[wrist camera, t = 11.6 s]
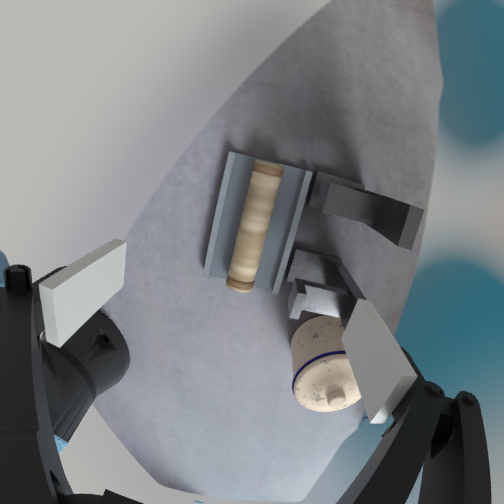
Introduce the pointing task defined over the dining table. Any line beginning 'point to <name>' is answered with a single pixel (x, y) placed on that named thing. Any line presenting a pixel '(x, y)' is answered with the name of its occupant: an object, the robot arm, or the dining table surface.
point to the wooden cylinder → (254, 225)
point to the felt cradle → (279, 227)
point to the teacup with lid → (322, 366)
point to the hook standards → (331, 268)
